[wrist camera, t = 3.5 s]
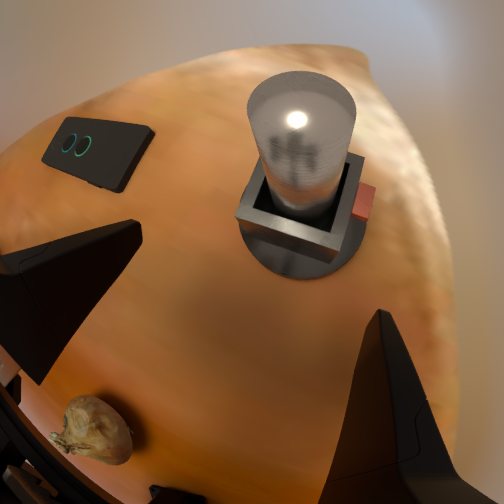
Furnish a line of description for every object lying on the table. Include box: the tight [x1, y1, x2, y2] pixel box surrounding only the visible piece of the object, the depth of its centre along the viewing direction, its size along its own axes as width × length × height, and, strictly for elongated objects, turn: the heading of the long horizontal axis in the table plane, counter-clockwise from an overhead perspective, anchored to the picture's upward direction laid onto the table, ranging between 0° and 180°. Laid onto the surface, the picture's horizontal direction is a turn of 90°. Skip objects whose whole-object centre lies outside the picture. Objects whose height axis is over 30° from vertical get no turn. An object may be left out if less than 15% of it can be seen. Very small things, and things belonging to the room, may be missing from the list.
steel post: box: [247, 71, 356, 230], centre depth 14 cm, size 4×4×12 cm
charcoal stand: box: [235, 152, 376, 280], centre depth 18 cm, size 10×10×7 cm
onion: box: [49, 395, 135, 465], centre depth 17 cm, size 8×8×8 cm
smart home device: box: [41, 117, 155, 193], centre depth 28 cm, size 8×2×20 cm
